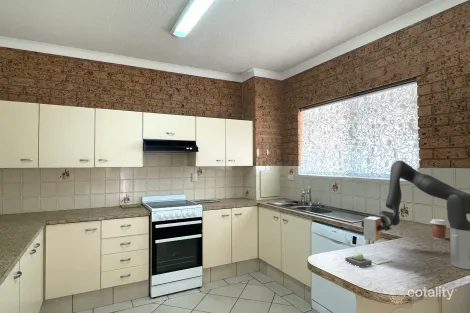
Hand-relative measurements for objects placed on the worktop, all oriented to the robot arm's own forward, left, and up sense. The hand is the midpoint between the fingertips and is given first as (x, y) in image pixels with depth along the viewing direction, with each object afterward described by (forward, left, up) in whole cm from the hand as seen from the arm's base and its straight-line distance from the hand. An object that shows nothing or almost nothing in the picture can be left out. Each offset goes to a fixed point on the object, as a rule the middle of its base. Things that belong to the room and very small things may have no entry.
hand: (371, 227), depth 134 cm
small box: (+1, -2, -6) cm, 7 cm away
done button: (0, +10, -14) cm, 17 cm away
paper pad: (0, -2, -16) cm, 16 cm away
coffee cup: (+9, -78, -16) cm, 80 cm away
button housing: (0, +10, -16) cm, 19 cm away
